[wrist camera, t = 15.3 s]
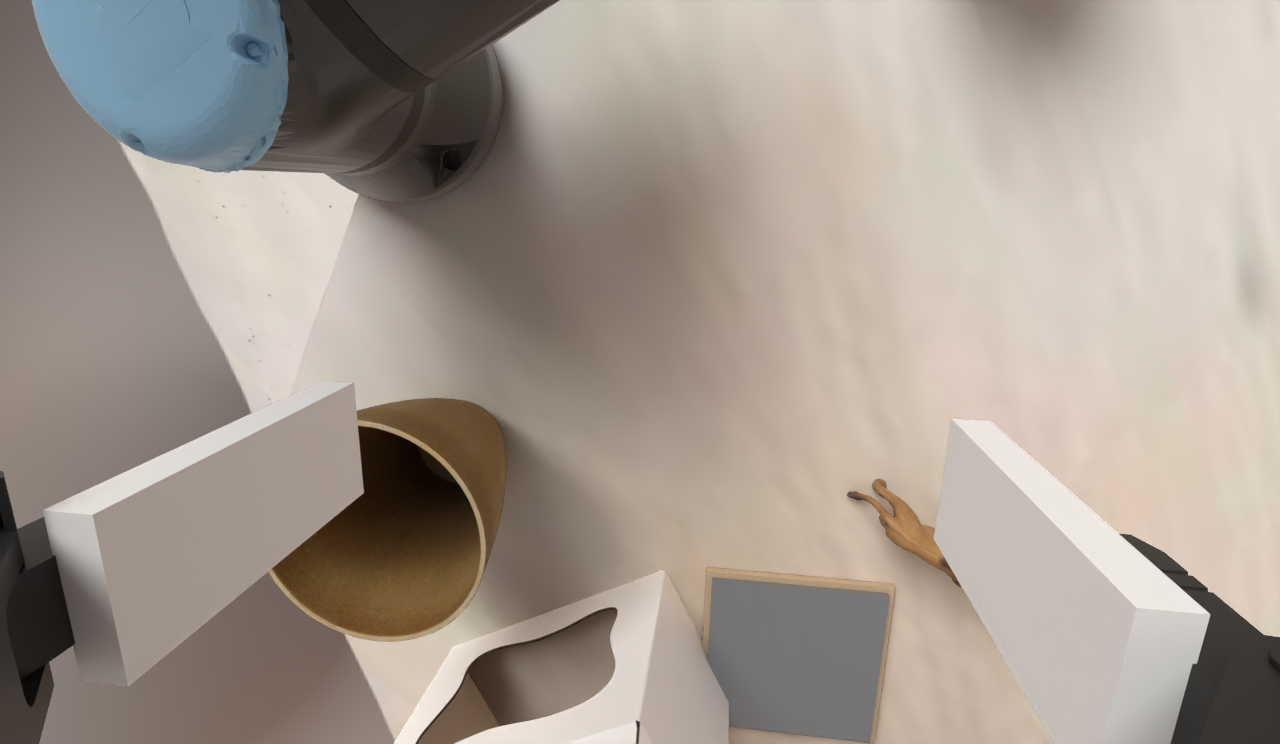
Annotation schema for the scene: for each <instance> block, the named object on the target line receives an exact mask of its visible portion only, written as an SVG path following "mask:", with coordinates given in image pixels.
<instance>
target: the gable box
mask: <svg viewBox="0 0 1280 744" xmlns="http://www.w3.org/2000/svg"><path fill="white" fill-rule="evenodd" d="M612 609H614V610H617V611H618V615H617V618H616V621H615V623H614V626H613V628H612V631H611V634H610V642H611V647H612V651H613V654H614V658H615V671H614V674H613V676H612V678H611V680H610V681H609V683H608V684H607V685H606V686H605V687H604V688H603V689H602V690H601V691H600V692H599V693H598V694H596V695H595V696H593V697H592V698H590V699H589V700H587V701H585V702H583V703H581V704H579V705H577V706H575V707H572V708H570V709H567V710H565V711H562V712H559V713H557V714H553V715H550V716H547V717H543V718H539V719H535V720H530V721H525V722H519V723H514V724H509V725H504V726H500V725H499V723H498V722H497V720H496V718H495V717H494V715H493V713H492V712H491V710H490V708H489V707H488V705H487V703H486V702H485V700H484V698H483V697H482V695H481V693H480V692H479V690H478V688H477V687H476V685H475V683H474V682H473V680H472V678H471V677H470V675H469V673H468V671H469V669H470V668H471V666H472V665H473V664H474V663H475V662H476V661H477V660H479V659H480V658H481V657H483V656H485V655H487V654H489V653H491V652H494V651H497V650H500V649H503V648H507V647H512V646H517V645H523V644H528V643H532V642H536V641H539V640H542V639H545V638H547V637H550V636H552V635H555V634H557V633H559V632H562V631H564V630H566V629H568V628H570V627H572V626H574V625H576V624H578V623H580V622H581V621H583V620H585V619H587V618H589V617H591V616H593V615H595V614H597V613H600V612H603V611H606V610H612ZM702 643H703V642H702V640H701V638H700V636H699V634H698V632H697V630H696V628H695V626H694V624H693V622H692V620H691V618H690V616H689V614H688V613H687V611H686V609H685V607H684V605H683V603H682V601H681V599H680V597H679V595H678V593H677V591H676V589H675V587H674V585H673V584H672V582H671V580H670V578H669V576H668V574H667V572H666V571H664V570H661V571H658V572H656V573H653V574H650V575H648V576H645V577H642V578H639V579H637V580H634V581H631V582H628V583H626V584H623V585H620V586H618V587H615V588H612V589H609V590H607V591H604V592H601V593H598V594H596V595H593V596H590V597H588V598H585V599H582V600H579V601H577V602H574V603H571V604H568V605H566V606H563V607H560V608H558V609H555V610H552V611H549V612H547V613H544V614H541V615H538V616H536V617H533V618H530V619H528V620H525V621H522V622H519V623H517V624H514V625H511V626H508V627H506V628H503V629H500V630H498V631H495V632H492V633H489V634H487V635H484V636H481V637H478V638H476V639H473V640H470V641H468V642H465V643H462V644H459V645H457V646H454V647H452V649H451V651H450V652H449V654H448V655H447V657H446V659H445V660H444V662H443V664H442V665H441V667H440V669H439V670H438V672H437V673H436V675H435V677H434V678H433V680H432V682H431V683H430V685H429V687H428V688H427V690H426V691H425V693H424V695H423V696H422V698H421V700H420V701H419V703H418V705H417V706H416V708H415V709H414V711H413V713H412V714H411V716H410V718H409V719H408V721H407V723H406V724H405V726H404V727H403V729H402V731H401V732H400V734H399V736H398V737H397V739H396V741H395V742H394V744H729V702H728V700H727V698H726V697H725V695H724V693H723V691H722V689H721V687H720V685H719V683H718V681H717V679H716V677H715V675H714V673H713V671H712V670H711V668H710V666H709V664H708V662H707V660H708V657H707V655H706V653H705V651H704V649H703V647H702Z"/></svg>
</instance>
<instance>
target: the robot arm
mask: <svg viewBox="0 0 1280 744" xmlns="http://www.w3.org/2000/svg"><path fill="white" fill-rule="evenodd" d="M558 1H559V0H32V4H33V8H34V12H35V16H36V20H37V24H38V27H39V30H40V34H41V36H42V39H43V42H44V44H45V47H46V49H47V51H48V54H49V56H50V58H51V60H52V62H53V64H54V65H55V68H56V69H57V71H58V73H59V75H60V77H61V78H62V80H63V81H64V83H65V84H66V86H67V88H68V89H69V91H70V92H71V94H72V95H73V96H74V98H75V99H76V100H77V102H78V103H79V104H80V105H81V106H82V107H83V109H84V110H85V111H86V112H87V113H88V114H89V115H90V116H91V117H92V118H93V119H94V120H95V121H96V122H97V123H98V124H99V125H100V126H101V127H102V128H104V129H105V130H106V131H107V132H108V133H110V134H111V135H112V136H113V137H115V138H116V139H118V140H119V141H121V142H122V143H124V144H125V145H127V146H129V147H130V148H132V149H134V150H136V151H139V152H141V153H143V154H144V155H147V156H150V157H153V158H156V159H159V160H162V161H165V162H170V163H175V164H181V165H187V166H193V167H198V168H200V169H202V170H206V171H211V172H227V173H230V172H231V171H239V170H255V171H282V172H308V173H325V174H326V175H327V176H329V177H330V178H332V179H333V180H335V181H336V182H338V183H339V184H341V185H342V186H344V187H346V188H348V189H350V190H352V191H354V192H356V193H358V194H361V195H364V196H367V197H370V198H373V199H378V200H383V201H392V202H408V201H422V200H428V199H431V198H435V197H438V196H441V195H443V194H445V193H448V192H450V191H451V190H453V189H455V188H456V187H458V186H459V185H461V184H462V183H463V182H465V181H466V180H467V179H468V178H469V177H470V176H471V175H472V174H473V173H474V172H475V171H476V170H477V169H478V167H479V166H480V165H481V164H482V162H483V161H484V159H485V158H486V156H487V154H488V152H489V151H490V149H491V146H492V144H493V142H494V139H495V137H496V134H497V130H498V127H499V122H500V117H501V110H502V83H501V75H500V70H499V65H498V62H497V58H496V55H495V52H494V49H493V47H492V44H494V43H495V42H497V41H498V40H500V39H501V38H503V37H504V36H506V35H507V34H509V33H510V32H512V31H514V30H515V29H517V28H518V27H520V26H521V25H523V24H524V23H526V22H527V21H529V20H530V19H532V18H533V17H535V16H536V15H538V14H540V13H541V12H543V11H544V10H546V9H547V8H549V7H550V6H552V5H553V4H555V3H556V2H558ZM363 493H364V488H363V477H362V466H361V455H360V444H359V433H358V422H357V411H356V400H355V389H354V382H337V381H321V382H319V383H316V384H314V385H312V386H310V387H308V388H306V389H303V390H301V391H299V392H297V393H295V394H293V395H290V396H288V397H286V398H284V399H282V400H280V401H278V402H275V403H273V404H271V405H269V406H267V407H265V408H262V409H260V410H258V411H256V412H254V413H252V414H249V415H247V416H245V417H243V418H241V419H239V420H236V421H235V422H232V423H230V424H228V425H226V426H224V427H222V428H219V429H217V430H215V431H213V432H211V433H209V434H206V435H204V436H202V437H200V438H198V439H195V440H193V441H191V442H189V443H187V444H185V445H182V446H180V447H178V448H176V449H174V450H172V451H169V452H167V453H165V454H163V455H161V456H159V457H157V458H154V459H152V460H150V461H148V462H146V463H144V464H142V465H139V466H137V467H135V468H133V469H131V470H128V471H126V472H124V473H122V474H120V475H118V476H115V477H113V478H111V479H109V480H107V481H105V482H103V483H100V484H98V485H96V486H94V487H92V488H90V489H87V490H85V491H83V492H81V493H79V494H77V495H74V496H72V497H70V498H68V499H66V500H64V501H61V502H59V503H57V504H55V505H53V506H51V507H49V508H46V509H44V510H43V515H44V517H42V518H40V519H38V520H36V521H34V522H32V523H30V524H28V525H26V526H23V527H21V528H19V529H17V527H16V523H15V519H14V515H13V511H12V506H11V502H10V498H9V494H8V490H7V486H6V481H5V477H4V473H3V472H2V471H0V744H39V742H40V738H41V733H42V730H43V726H44V722H45V718H46V714H47V711H48V707H49V703H50V699H51V695H52V691H53V687H54V683H53V678H52V673H51V669H50V665H49V661H51V660H52V659H53V658H55V657H57V656H58V655H60V654H61V653H62V652H64V651H65V650H67V649H68V648H70V647H71V646H73V647H74V651H75V656H76V660H77V665H78V669H79V673H80V678H81V681H87V682H95V683H104V684H112V685H120V686H129V685H130V684H132V683H133V682H134V681H135V680H137V679H138V678H139V677H140V676H141V675H143V674H144V673H145V672H146V671H147V670H149V669H150V668H151V667H152V666H154V665H155V664H156V663H157V662H158V661H160V660H161V659H162V658H163V657H164V656H166V655H167V654H168V653H169V652H171V651H172V650H173V649H174V648H176V647H177V646H178V645H179V644H180V643H182V642H183V641H184V640H185V639H187V638H188V637H189V636H190V635H191V634H193V633H194V632H195V631H196V630H197V629H199V628H200V627H201V626H202V625H204V623H206V622H207V621H208V620H210V619H211V618H212V617H213V616H214V615H216V614H217V613H218V612H219V611H220V610H222V609H223V608H224V607H225V606H227V605H228V604H229V603H230V602H232V601H233V600H234V599H235V598H236V597H238V596H239V595H240V594H241V593H243V592H244V591H245V590H246V589H247V588H248V587H250V586H251V585H252V584H253V583H255V582H256V581H257V580H258V579H259V578H261V577H262V576H263V575H264V574H265V573H267V572H268V571H269V570H271V569H272V568H273V567H274V566H275V565H277V564H278V563H279V562H280V561H281V560H283V559H284V558H285V557H286V556H288V555H289V554H290V553H291V552H292V551H294V550H295V549H296V548H297V547H299V546H300V545H301V544H302V543H303V542H305V541H306V540H307V539H308V538H309V537H311V536H312V535H313V534H314V533H316V532H317V531H318V530H319V529H320V528H322V527H323V526H324V525H325V524H327V523H328V522H329V521H330V520H331V519H333V518H334V517H335V516H336V515H337V514H339V513H340V512H341V511H342V510H344V509H345V508H346V507H347V506H348V505H350V504H351V503H352V502H353V501H355V500H356V499H357V498H358V497H359V496H361V495H362V494H363ZM934 540H935V542H936V544H937V546H938V547H939V549H940V551H941V552H942V554H943V556H944V558H945V559H946V561H947V563H948V564H949V566H950V568H951V569H952V571H953V573H954V575H955V576H956V578H957V580H958V581H959V583H960V585H961V587H962V588H963V590H964V592H965V593H966V595H967V597H968V598H969V600H970V602H971V604H972V605H973V607H974V609H975V610H976V612H977V614H978V616H979V617H980V619H981V621H982V622H983V624H984V626H985V628H986V629H987V631H988V633H989V634H990V636H991V638H992V639H993V641H994V643H995V645H996V646H997V648H998V650H999V651H1000V653H1001V655H1002V657H1003V658H1004V660H1005V662H1006V663H1007V665H1008V667H1009V668H1010V670H1011V672H1012V674H1013V675H1014V677H1015V679H1016V680H1017V682H1018V684H1019V686H1020V687H1021V689H1022V691H1023V692H1024V694H1025V696H1026V697H1027V699H1028V701H1029V703H1030V704H1031V706H1032V708H1033V709H1034V711H1035V713H1036V715H1037V716H1038V718H1039V720H1040V721H1041V723H1042V725H1043V727H1044V728H1045V730H1046V732H1047V733H1048V735H1049V737H1050V738H1051V740H1052V742H1053V744H1280V637H1273V636H1266V635H1263V634H1262V633H1261V632H1259V631H1258V630H1257V629H1256V628H1255V627H1253V626H1252V625H1251V624H1250V623H1249V622H1247V621H1246V620H1245V619H1244V618H1243V617H1241V616H1240V615H1239V614H1238V613H1237V612H1235V611H1234V610H1233V609H1232V608H1231V607H1229V606H1228V605H1227V604H1226V603H1225V602H1223V601H1222V600H1221V599H1220V598H1219V597H1217V596H1216V595H1215V594H1214V593H1211V592H1208V588H1207V587H1205V586H1204V585H1203V584H1202V583H1201V582H1199V581H1198V580H1197V579H1196V578H1194V577H1193V576H1188V572H1187V571H1186V570H1185V569H1184V568H1182V567H1181V566H1180V565H1179V564H1178V563H1176V562H1175V561H1174V560H1173V559H1172V558H1170V557H1169V556H1168V555H1167V554H1166V553H1164V552H1163V551H1161V550H1159V549H1157V548H1155V547H1153V546H1151V545H1149V544H1147V543H1145V542H1143V541H1141V540H1139V539H1138V538H1136V537H1134V536H1132V535H1127V534H1118V533H1117V532H1116V531H1115V530H1114V529H1113V528H1112V527H1110V526H1109V525H1108V524H1107V523H1106V522H1105V521H1104V520H1103V519H1101V518H1100V517H1099V516H1098V515H1097V514H1096V513H1095V512H1093V511H1092V510H1091V509H1090V508H1089V507H1088V506H1087V505H1085V504H1084V503H1083V502H1082V501H1081V500H1080V499H1079V498H1078V497H1076V496H1075V495H1074V494H1073V493H1072V492H1071V491H1070V490H1068V489H1067V488H1066V487H1065V486H1064V485H1063V484H1062V483H1060V482H1059V481H1058V480H1057V479H1056V478H1055V477H1054V476H1053V475H1051V474H1050V473H1049V472H1048V471H1047V470H1046V469H1045V468H1043V467H1042V466H1041V465H1040V464H1039V463H1038V462H1037V461H1036V460H1034V459H1033V458H1032V457H1031V456H1030V455H1029V454H1028V453H1026V452H1025V451H1024V450H1023V449H1022V448H1021V447H1020V446H1018V445H1017V444H1016V443H1015V442H1014V441H1013V440H1012V439H1011V438H1009V437H1008V436H1007V435H1006V434H1005V433H1004V432H1003V431H1001V430H1000V429H999V428H998V427H997V426H996V425H995V424H993V423H992V422H991V421H983V420H966V419H951V426H950V433H949V439H948V446H947V453H946V459H945V466H944V473H943V479H942V486H941V492H940V499H939V506H938V512H937V519H936V526H935V532H934Z"/></svg>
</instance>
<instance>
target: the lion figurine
mask: <svg viewBox="0 0 1280 744" xmlns="http://www.w3.org/2000/svg"><path fill="white" fill-rule="evenodd" d="M872 487H873V489H874V490H875V491H876V492H877V493H878V494H879V495H880V496H882V497H883V498H885V499H887V500H888V501H889V503H890V504H891V506H892V507H893V511H894V517H893V516H891V515H890V514H889V513H888V512H887V511H886V510H885V509H884V508H883V507H882V506H881V505H880V504H879V503H878V502H877V501H876V500H875V499H873V498H872V497H870V496H867V495H863V494H860V493H858V492H856V491H855V492H849V493H848V494H847V496H848V497H850V498H854V499H856V500H865V501H868V502H869V503H871V504H872V505H873V506H874V507H875V508H876V509H877V511H878V512H879V513H880V516H879V519H880V522H881V524H882V525H883V526H884V527H885V529H886V535H887V536H888V537H889V538H890V539H891V540H892V541H893V542H894V543H895V544H896V545H898V546H900V547H901V548H903V549H905V550H907V551H910V552H912V553H914V554H916V555H917V556H919V557H920V558H922V559H923V560H925V561H926V562H927V563H929V564H931V565H933V566H935V567H937V568H939V569H940V570H942V571H945V572H946V573H947V574H948V575H949V576H950V577H951V578H952V580H953V581H954V583H955V584H956V585H958V586H959V587H961V585H960V583H959V581H958V580H957V578H956V576H955V575H954V573H953V571H952V569H951V568H950V566H949V564H948V563H947V561H946V559H945V558H944V556H943V554H942V552H941V551H940V549H939V547H938V546H937V544H936V542H935V540H934V532H935V528H932V527H929V526H926V525H921V524H920V522H919V520H918V518H917V516H916V515H915V513H914V512H913V511H912V510H911V509H910V507H909V506H908V505H907V504H906V503H905V502H904V501H903V500H901V499H900V498H899V497H897V496H895V495H894V494H892V493H891V492H889V491H888V490H886V484H885V481H883V480H881V479H877V480H875V481H874V482H873V485H872Z"/></svg>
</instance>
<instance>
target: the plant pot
mask: <svg viewBox="0 0 1280 744" xmlns="http://www.w3.org/2000/svg"><path fill="white" fill-rule="evenodd" d="M357 422H358V433H359V444H360V455H361V466H362V477H363V488H364V493H363V494H362V495H361V496H359V497H358V498H357V499H356V500H355V501H353V502H352V503H351V504H350V505H348V506H347V507H346V508H345V509H344V510H342V511H341V512H340V513H339V514H337V515H336V516H335V517H334V518H333V519H331V520H330V521H329V522H328V523H327V524H325V525H324V526H323V527H322V528H320V529H319V530H318V531H317V532H316V533H314V534H313V535H312V536H311V537H309V538H308V539H307V540H306V541H305V542H303V543H302V544H301V545H300V546H299V547H297V548H296V549H295V550H294V551H292V552H291V553H290V554H289V555H288V556H286V557H285V558H284V559H283V560H281V561H280V562H279V563H278V564H277V565H275V566H274V567H273V568H272V569H271V570H269V571H268V572H269V574H270V575H271V577H272V578H273V579H274V581H275V582H276V584H277V585H278V586H279V588H280V589H281V590H282V591H283V592H284V593H285V594H286V596H288V598H289V599H290V600H292V602H293V603H295V604H296V605H297V606H298V607H299V608H300V609H301V610H303V611H304V612H305V613H306V614H308V615H309V616H311V617H312V618H314V619H315V620H317V621H319V622H320V623H322V624H324V625H326V626H328V627H330V628H332V629H334V630H337V631H339V632H342V633H344V634H347V635H350V636H353V637H357V638H361V639H366V640H373V641H386V642H394V641H404V640H410V639H415V638H419V637H422V636H425V635H428V634H431V633H433V632H435V631H437V630H439V629H441V628H443V627H444V626H446V625H447V624H449V623H450V622H452V621H453V620H454V619H455V618H456V617H458V616H459V615H460V614H461V613H462V611H463V610H464V609H465V608H466V607H467V606H468V604H469V603H470V601H471V600H472V598H473V597H474V595H475V593H476V591H477V589H478V587H479V584H480V582H481V579H482V576H483V573H484V571H485V568H486V565H487V562H488V559H489V556H490V553H491V550H492V546H493V543H494V540H495V536H496V533H497V529H498V525H499V521H500V516H501V511H502V506H503V499H504V492H505V481H506V455H505V445H504V439H503V434H502V432H501V429H500V427H499V425H498V424H497V422H496V421H495V419H494V418H493V417H492V416H491V415H490V414H489V413H488V412H487V411H486V410H485V409H483V408H482V407H480V406H478V405H476V404H474V403H471V402H467V401H463V400H456V399H444V398H429V399H414V400H406V401H399V402H393V403H388V404H383V405H379V406H374V407H370V408H366V409H362V410H359V411H357Z"/></svg>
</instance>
